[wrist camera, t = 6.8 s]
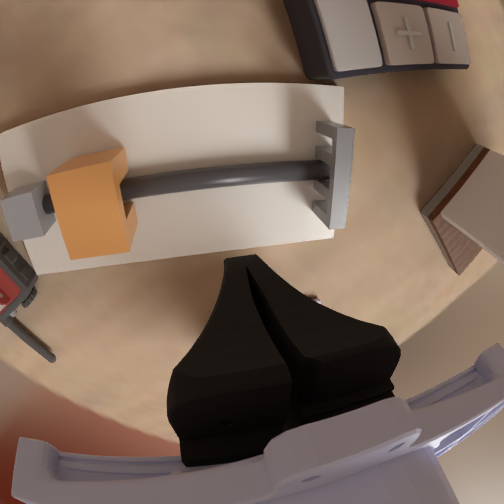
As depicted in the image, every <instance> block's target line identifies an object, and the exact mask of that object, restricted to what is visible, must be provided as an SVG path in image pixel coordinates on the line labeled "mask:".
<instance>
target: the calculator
mask: <svg viewBox="0 0 504 504" xmlns="http://www.w3.org/2000/svg"><path fill="white" fill-rule="evenodd" d="M283 1H284V4H285V7H286V11H287V14H288V17H289V20H290V23H291V26H292V30H293V33H294V36H295V40H296V43H297V46H298V50H299V53H300V57H301V61H302V64H303V68H304V72H305V75H306V77H307V78H309V79H339V78H345V77H352V76H359V75H366V74H375V73H384V72H395V71H408V70H426V69H468V67H469V64H470V55H469V49H468V44H467V38H466V34H465V29H464V25H463V20H462V17H461V15H460V14H459V13H458V9H457V7H458V6H459V5H458V1H457V0H283Z"/></svg>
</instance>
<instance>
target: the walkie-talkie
mask: <svg viewBox="0 0 504 504" xmlns="http://www.w3.org/2000/svg"><path fill="white" fill-rule="evenodd" d="M37 279H38V275H37V274H36V272H35V271H34V270H33V268H32V267H31V266H30V265H29V264H28V263H27V262H26V261H25V260H24V259H23V258H22V257H21V255H20V254H19V253H18V252H17V251H16V250H15V249H14V247H13V246H12V245H11V244H10V243H9V242H8V240H7V239H6V238H4V237H3V234H1V233H0V322H1V323H2V324H3V325H4V326H6V327H8V328H10V329H11V330H12V331H13V332H14V333H15V334H16V335H17V336H19V337H20V338H21V339H22V340H23V341H24V342H26V343H27V344H28V345H29V346H30V347H32V348H33V349H34V350H35V351H37V352H38V353H39V354H40V355H42V356H43V357H44V358H45V359H47V360H48V361H49V362H51V363H53V362H55V361H56V356H55V355H54V354H53V353H52V352H50V351H49V350H48V349H46V348H45V347H44V346H43V345H42V344H40V343H39V342H38V341H37V340H36V339H34V338H33V337H32V336H31V335H30V334H28V333H27V332H26V331H25V330H24V329H23V328H22V327H21V326H19V325H18V324H17V323H16V322H15V321H14V320H13V319H12V317H14V316H15V315H16V312H17V308H18V306H19V305H20V304H21V303H22V306H23V307H24V308H25V307H28V306H29V305H30V303H31V302H32V301H33V299H34V298H35V296H36V294H37V290H36V289H35V288H33V286H34V285H35V283H36V281H37ZM11 316H12V317H11Z"/></svg>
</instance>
